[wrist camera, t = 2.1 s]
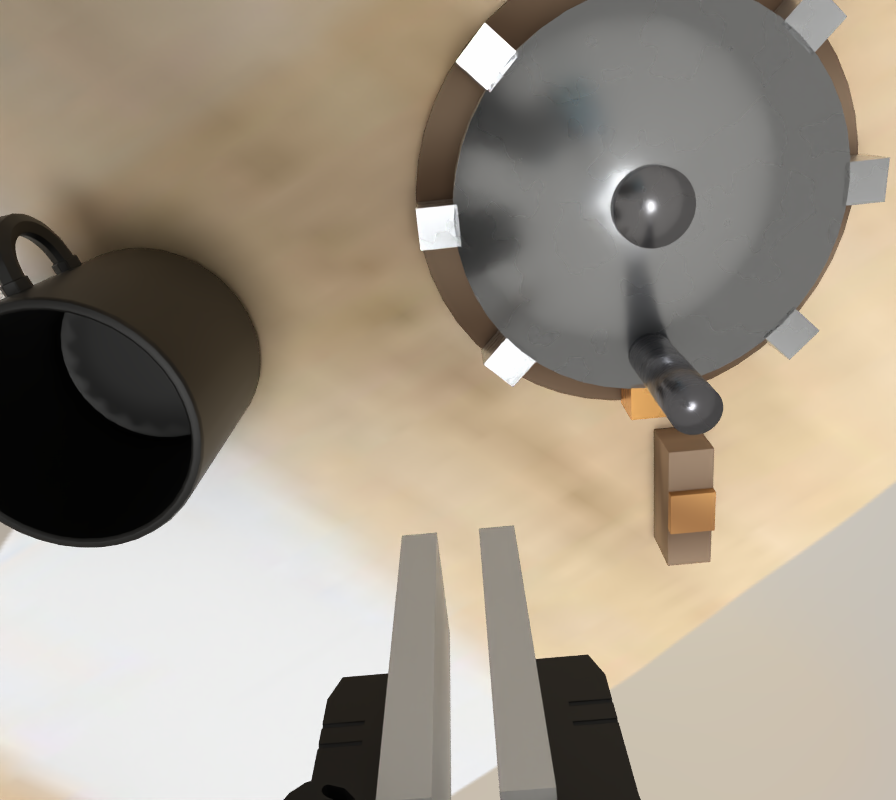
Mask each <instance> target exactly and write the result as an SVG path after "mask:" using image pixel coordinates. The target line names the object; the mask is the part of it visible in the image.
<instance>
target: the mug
mask: <svg viewBox="0 0 896 800" xmlns="http://www.w3.org/2000/svg"><path fill="white" fill-rule="evenodd" d="M18 236H22V237H25V238H27V239H29V240H30V241H32V242H33V243H35V244H36V245H37V246H38V247H39V248H41V249H42V250H43V251H44V253H45V254H46V255H47V256H48V257H49V259H50V260H51V261H52V262H53V264H54V265H53V266H52V268H53V269H54V271H55V273H56V274H57V275H55V276H53V277H51V278H49V279H46V280H44V281H42V282H40V283H37V284H35V285H33V284H32V282H31V281H30V279H29V278H28V276H25V275H24V273H23V271H22V269H21V267H20V265H19V263H18V260H17V256H16V251H15V244H16V240H17V238H18ZM0 285H1V287H0V290H1V291H2V293H3V294H4V296H5V297H6V298H4V299H2V300H0V522H2V523H3V524H5V525H7V526H9V527H11V528H13V529H14V530H16V531H18V532H20V533H23V534H25V535H28V536H31V537H33V538H36V539H39V540H42V541H46V542H50V543H54V544H58V545H64V546H72V547H106V546H112V545H118V544H122V543H126V542H129V541H132V540H136V539H139V538H141V537H143V536H145V535H147V534H149V533H151V532H153V531H155V530H156V529H158V528H159V527H161V526H162V525H164V524H165V523H166V522H168V521H169V520H171V519H172V518H173V517H174V516H175V514H176V513H177V512H178V511H179V510H180V509H181V508H182V507H183V506H184V505H185V503H186V502H187V500H188V499H189V497H190V496H191V494H192V493H193V491H194V490H195V488H196V487H197V485H198V483H199V482H200V480H201V479H202V477H203V476H204V474H205V473H206V471H207V470H208V468H209V466H210V465H211V463H212V462H213V460H214V459H215V457H216V456H217V454H218V452H219V451H220V449H221V448H222V446H223V445H224V443H225V442H226V440H227V438H228V437H229V435H230V434H231V432H232V431H233V429H234V428H235V426H236V425H237V423H238V421H239V420H240V418H241V417H242V415H243V414H244V412H245V411H246V409H247V407H248V406H249V404H250V403H251V400H252V398H253V396H254V393H255V391H256V388H257V384H258V379H259V374H260V353H259V344H258V341H257V337H256V333H255V330H254V328H253V325H252V323H251V321H250V318H249V316H248V314H247V312H246V311H245V309H244V308H243V306H242V304H241V303H240V301H239V300H238V299H237V297H236V296H235V295H234V294H233V293H232V291H231V290H230V289H229V288H228V287H227V286H226V285H225V284H224V283H223V282H222V281H221V280H219V279H218V278H217V277H216V276H215V275H213V274H212V273H211V272H209V271H208V270H206V269H205V268H203V267H202V266H200V265H199V264H197V263H195V262H193V261H190V260H188V259H186V258H184V257H181V256H179V255H176V254H172V253H169V252H166V251H161V250H154V249H144V248H132V249H123V250H117V251H113V252H109V253H106V254H104V255H101V256H98V257H95V258H93V259H91V260H89V261H86V262H84V263H82V264H81V262H80V260H79V259H78V257H77V256H76V255H73V254H72V253H71V252H70V250H69V249H68V248H67V246H66V245H65V244H64V242H63V241H62V240H61V239H60V238H59V237H58V236H57V235H56V234H55V233H54V232H53V231H52V230H51V229H50V228H49V227H47V226H46V225H45V224H44V223H42V222H40V221H39V220H37V219H35V218H33V217H31V216H29V215H25V214H10V215H6V216H2V217H0Z"/></svg>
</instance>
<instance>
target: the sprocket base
mask: <svg viewBox="0 0 896 800" xmlns="http://www.w3.org/2000/svg"><path fill="white" fill-rule="evenodd" d="M585 1H587V0H509V1H507V2H506V3H505V4H504V5H503V6H502V7H501V8H500V9H499V10H498V11H497V12H495V13H494V14H493V15H492V16H491V17H490V18H489V19H488V20H487V21H486V22H485V23H486V24H487V25H488V26H489V27H490V28H491V29H492V30H493V31H494V32H496V33H497V34H498V35H499V36H500V37H501V38H502V39H503V40H504V41H505V42H506V43H508V44H509V45H510V46H511V47H512V48H513V49H514V50H516V49H517V48H519V47H520V46H521V45H522V44H523V43H524V42H525V41H526V40H528V39H529V38H530V37H531V36H532V35H533V34H534V33H535V32H537V31H538V30H539V29H541V28H542V27H543V26H545V25H546V24H548V23H549V22H551V21H552V20H554V19H555V18H557V17H558V16H560V15H561V14H562V13H564V12H565V11H567V10H569V9H571V8H573V7H575V6H577V5H579V4H581V3H583V2H585ZM754 1H756V2H759V3H760V4H762V5H763V6H765V7H766V8H768V9H769V10H771V11H772V12H774V11H775V10H776V9H777V8H778V7H779V6H780V4H781V3H782V2H783V1H784V0H754ZM479 30H480V29H479ZM479 30H478V31H479ZM476 34H477V33H476ZM476 34H475V35H476ZM475 35H474V36H475ZM474 36H473V38H474ZM473 38H472V39H473ZM472 39H471V40H472ZM471 40H470V41H469V42H468V44H469V43H470V42H471ZM468 44H467V45H466V46H465V48H464V49H463V51H464V50H465V49H466V47H467V46H468ZM463 51H462V52H461V54H462V53H463ZM815 53H816V54H817V55H818V57H819V59H820V60H821V62H822V64H823V66H824V67H825V69H826V71H827V72H828V74H829V76H830V78H831V79H832V82H833V84H834V87H835V89H836V92H837V94H838V97H839V99H840V102H841V105H842V109H843V113H844V117H845V121H846V125H847V130H848V139H849V149H850V155H858V139H857V128H856V118H855V111H854V107H853V102H852V98H851V94H850V90H849V85H848V82H847V80H846V77H845V75H844V72H843V70H842V67H841V64H840V62H839V59H838V57H837V55H836V53H835V51H834V50H833V48H832V46H831V44H830V43H829V41H828V39H826V41H825V42H824V43H823V44H822V45H821V46H820V47H819V48H818V49H817V50H816V52H815ZM461 54H460V55H461ZM460 55H459V57H460ZM459 57H458V58H459ZM456 61H457V60H456ZM455 63H456V62H455ZM455 63H454V65H453V66H452V68H451V69H450V71H449V72H448V74H447V77H446V79H445V81H444V83H443V85H442V87H441V89H440V91H439V93H438V95H437V97H436V99H435V101H434V104H433V107H432V110H431V113H430V116H429V119H428V122H427V125H426V128H425V131H424V136H423V141H422V146H421V151H420V156H419V161H418V173H417V186H416V199H417V202H425V201H434V200H443V199H453V186H454V175H455V167H456V162H457V158H458V153H459V149H460V144H461V141H462V138H463V135H464V133H465V130H466V127H467V124H468V121H469V118H470V116H471V114H472V112H473V110H474V108H475V106H476V105H477V103H478V101H479V99H480V97H481V95H482V93H483V92H484V90H483V89H482V88H481V87H480V86H479V85H478V84H477V83H476V82H474V81H473V80H472V79H471V78H470V77H469V76H468V75H467V74H465V73H464V72H463V71H462V70H461V69H460V68H459V67H458V66H456V65H455ZM850 209H851V205H847V206H846V209H845V213H844V216H843V220H842V223H841V227H840V230H839V234H838V237H837V239H836V242H835V244H834V247H833V249H832V251H831V254H830V256H829V258H828V261H827V263H826V264H825V266H824V268H823V270H822V271H821V273H820V275H819V277H818V279H817V280H816V282H815V284H814V285H813V287H812V288H811V289H810V291H809V292H808V294H807V295H806V296H805V298H804V299H803V301H802V302H801V303H800V305H799V306H798V307H797V308H796V310H798V311H799V310H800V309H801V308H802V306H803V305H804V303H805V302H806V301H807V299H808V298H809V296H810V295H811V294H812V292H813V291H814V290H815V288H816V287H817V285H818V284H819V282H820V280H821V278H822V277H823V275H824V273H825V271H826V270H827V268H828V266H829V264H830V263H831V261H832V259H833V256H834V254H835V252H836V249H837V247H838V245H839V242H840V240H841V237H842V235H843V233H844V230H845V226H846V223H847V219H848V216H849V212H850ZM423 251H424V254H425V257H426V260H427V264H428V267H429V270H430V273H431V276H432V278H433V280H434V282H435V284H436V286H437V288H438V291H439V293H440V295H441V297H442V299H443V301H444V302H445V304H446V305H447V307H448V308H449V310H450V312H451V313H452V315H453V316H454V318H455V319H456V321H457V322H458V323H459V325H460V326H461V327H462V328H463V329H464V330H465V332H466V333H467V334H468V335H469V336H470V337H471V339H472V340H473V341H474V342H475V343H476V344H477V345H478V346H479V347H481V348H483V347H484V346H485V345H486V343H487V342H488V341H489V340H490V339H491V338H492V337H493V335H494V334H495V333H496V332H497V331H498V328H497V327H496V326H495V325H494V324H493V322H492V321H491V320H490V319H489V318H488V316H487V314H486V313H485V311H484V310H483V308H482V307H481V305H480V303H479V302H478V300H477V299H476V297H475V295H474V292H473V290H472V288H471V286H470V284H469V282H468V279H467V277H466V275H465V272H464V268H463V265H462V262H461V258H460V255H459V252H458V247H452V248H442V249H433V250H423ZM766 343H767V342H766V341H765V340H764V341H762V342H761V343H760V344H758V345H757V346H755V347H754V348H753V349H751V350H750V351H748V352H747V353H745V354H744V355H743V356H741V357H739V358H737V359H736V360H734V361H732V362H730V363H728V364H726V365H725V366H723V367H721V368H719V369H717V370H714V371H712V372H709V373H707V374H704V375H702V377H703V378H704V379H705V380H706V381H707V380H709V379H712V378H714V377H716V376H717V375H719V374H721V373H723V372H725V371H727V370H728V369H730V368H732V367H734V366H736V365H738V364H739V363H740V362H742V361H743V360H745V359H746V358H748V357H749V356H750V355H752V354H753V353H755V352H756V351H757V350H759V349H760V348H761V347H763V346H764V345H765V344H766ZM522 377H523V378H525V379H527V380H529V381H531V382H533V383H535V384H537V385H540V386H543V387H545V388H548V389H551V390H554V391H557V392H560V393H564V394H569V395H573V396H578V397H583V398H590V399H602V400H621V388H613V387H603V386H598V385H593V384H589V383H584V382H580V381H577V380H574V379H572V378H569V377H566V376H563V375H560V374H558V373H556V372H554V371H552V370H550V369H548V368H546V367H544V366H542V365H540V364H539V363H537V362H535V363H534V364H533V365H532V366H531V368H530V369H529V370H528V371H527V372H526V373H525V374H524V375H523V376H522Z"/></svg>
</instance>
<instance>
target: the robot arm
mask: <svg viewBox="0 0 896 800" xmlns="http://www.w3.org/2000/svg"><path fill="white" fill-rule="evenodd" d="M479 534H480V547H481V560H482V573H483V585H484V598H485V611H486V624H487V636H488V649H489V662H490V675H491V687H492V700H493V713H494V725H495V738H496V751H497V764H498V776H499V789H500V798H501V800H641V799H640V797H639V794H638V791H637V787H636V783H635V780H634V776H633V773H632V769H631V765H630V762H629V758H628V755H627V751H626V747H625V744H624V740H623V737H622V733H621V730H620V726H619V723H618V720H617V715H616V712H615V708H614V704H613V703H612V697H611V694H610V690H609V686H608V683H607V679H606V676H605V674H604V672H603V671H602V670H601V669H600V668H599V667H598V666H597V664H596V663H595V662H594V661H593V660H592V659H591V658H590V656H589V655H578V656H566V657H555V658H543V659H535V653H534V647H533V641H532V634H531V628H530V622H529V616H528V610H527V603H526V597H525V591H524V585H523V579H522V572H521V566H520V560H519V554H518V548H517V541H516V535H515V529H514V526H503V527H492V528H481V529H479ZM284 800H451V730H450V632H449V624H448V616H447V608H446V601H445V593H444V585H443V577H442V570H441V562H440V554H439V546H438V539H437V533H427V534H416V535H405V536H402V542H401V552H400V562H399V572H398V582H397V592H396V602H395V612H394V622H393V632H392V642H391V652H390V662H389V672H388V674H376V675H365V676H353V677H343V678H342V679H341V681H340V682H339V684H338V685H337V686H336V688H335V689H334V691H333V692H332V694H331V695H330V697H329V698H328V699H327V704H326V709H325V714H324V720H323V729H322V730H321V735H320V740H319V749H318V750H317V755H316V760H315V765H314V770H313V775H312V780H311V781H310V782H306V783H304V784H303V785H301V786H300V787H298V788H297V789H295V790H293V791H292V792H290V793H289V794H288V795H287V796H286V798H285V799H284Z"/></svg>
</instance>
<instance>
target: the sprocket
mask: <svg viewBox="0 0 896 800" xmlns="http://www.w3.org/2000/svg"><path fill="white" fill-rule="evenodd" d="M846 17H847V16H846V15H845V14H844V13H843V11H842V10H841V9H840V8H839V7H838V6H837V5H836V4H835V3H834V2H833V1H832V0H784V1H783V2H782V3H781V4H780V6H779V7H778V8H777V9H776V10H775V11H774V12H772V11H771V10H769V9H768V8H766V7H765V6H763V5H762V4H760V3H759V2H756V1H754V0H587V1H585V2H583V3H581V4H579V5H577V6H575V7H573V8H571V9H569V10H567V11H565V12H564V13H562V14H561V15H560V16H558V17H557V18H555V19H554V20H552V21H551V22H549V23H548V24H546V25H545V26H543V27H542V28H541V29H539V30H538V31H537V32H535V33H534V34H533V35H532V36H531V37H530V38H529V39H528V40H526V41H525V42H524V43H523V44H522V45H521V46H520V47H519V48H517V49H516V50H514V49H513V48H512V47H511V46H510V45H509V44H508V43H506V42H505V41H504V40H503V39H502V38H501V37H500V36H499V35H498V34H497V33H496V32H494V31H493V30H492V29H491V28H490V27H489V26H488V25H487V24H486V23H484V24H483V26H482V27H481V28H480V30H479V31H478V32H477V34H476V35H475V36H474V38H473V39H472V40H471V42H470V43H469V44H468V46H467V47H466V49H465V50H464V51H463V53H462V54H461V55H460V57H459V58H458V59H457V61H456V63H455V65H456V66H458V67H459V68H460V69H461V70H462V71H463V72H464V73H465V74H467V75H468V76H469V77H470V78H471V79H472V80H473V81H474V82H476V83H477V84H478V85H479V86H480V87H481V88H482V89H483V90H484V92H483V93H482V95H481V97H480V99H479V101H478V103H477V105H476V106H475V108H474V110H473V112H472V114H471V116H470V118H469V121H468V124H467V127H466V130H465V133H464V135H463V138H462V141H461V144H460V149H459V153H458V158H457V162H456V167H455V175H454V186H453V199H443V200H434V201H425V202H417V206H416V217H417V225H418V234H419V242H420V251H423V250H433V249H442V248H452V247H458V252H459V255H460V258H461V262H462V265H463V268H464V272H465V275H466V277H467V279H468V282H469V284H470V286H471V288H472V290H473V292H474V295H475V297H476V299H477V300H478V302H479V303H480V305H481V307H482V308H483V310H484V311H485V313H486V314H487V316H488V318H489V319H490V320H491V321H492V322H493V324H494V325H495V326H496V327H497V328H498V331H497V332H496V333H495V334H494V335H493V337H492V338H491V339H490V340H489V341H488V342H487V343H486V345H485V346H484V347H483V348H482V349H481V350H482V357H483V364H484V365H485V366H486V367H488V368H489V369H490V370H491V371H493V372H494V373H495V374H497V375H498V376H499V377H501V378H502V379H503V380H504V381H506V382H507V383H508V384H510V385H511V386H512V387H513V386H514V385H515V384H516V383H517V382H518V381H519V380H520V379H521V378H522V376H523V375H524V374H525V373H526V372H527V371H528V370H529V369H530V368H531V366H532V365H533V364H534V363H535V362H537V363H539V364H540V365H542V366H544V367H546V368H548V369H550V370H552V371H554V372H556V373H558V374H560V375H563V376H566V377H569V378H572V379H574V380H577V381H580V382H584V383H589V384H593V385H598V386H603V387H613V388H621V403H622V405H623V406H624V408H625V410H626V411H627V413H628V415H629V417H630V418H631V420H637V419H648V418H658V417H667V418H668V419H669V421H670V422H671V423H672V425H673V426H674V427H675V428H676V429H677V430H678V431H679V432H681V433H684V434H687V435H698V434H702V433H705V432H707V431H709V430H710V429H712V428H713V427H714V426H715V425H716V424H717V423H718V421H719V420H720V418H721V416H722V412H723V402H722V399H721V397H720V396H719V394H718V393H717V392H716V391H715V390H714V389H713V388H712V387H711V385H710V384H709V383H708V382H707V381H706V380H705V379H704V378H703V377H702V375H704V374H707V373H709V372H712V371H714V370H717V369H719V368H721V367H723V366H725V365H726V364H728V363H730V362H732V361H734V360H736V359H737V358H739V357H741V356H743V355H744V354H745V353H747V352H748V351H750V350H751V349H753V348H754V347H755V346H757V345H758V344H760V343H761V342H762V341H764V340H765V341H766V342H767V343H768V344H769V345H771V346H772V347H773V348H775V349H776V350H777V351H779V352H780V353H781V354H783V355H784V356H785V357H787V358H788V359H789V360H790V359H791V358H792V357H793V356H794V355H795V354H796V353H797V352H798V351H799V350H800V349H801V348H802V347H803V346H804V345H805V344H806V343H807V342H808V341H809V340H810V339H812V338H813V337H814V336H815V335H816V334H817V333H818V332H819V330H818V329H817V328H816V327H815V326H814V325H813V324H812V323H811V322H809V321H808V320H807V319H806V318H805V317H804V316H803V315H802V314H801V313H800V312H799V311H798V310H796V308H797V307H798V306H799V305H800V303H801V302H802V301H803V299H804V298H805V296H806V295H807V294H808V292H809V291H810V289H811V288H812V287H813V285H814V284H815V282H816V280H817V279H818V277H819V275H820V273H821V271H822V270H823V268H824V266H825V264H826V263H827V261H828V258H829V256H830V254H831V251H832V249H833V247H834V244H835V242H836V239H837V237H838V234H839V230H840V227H841V223H842V220H843V216H844V213H845V209H846V206H847V205H857V204H866V203H876V202H885V194H886V186H887V177H888V168H889V159H890V158H888V157H880V156H873V155H865V154H858V155H850V149H849V139H848V130H847V125H846V121H845V117H844V113H843V109H842V105H841V102H840V99H839V97H838V94H837V92H836V89H835V87H834V84H833V82H832V79H831V78H830V76H829V74H828V72H827V71H826V69H825V67H824V66H823V64H822V62H821V60H820V59H819V57H818V55H817V54H816V53H815V52H816V50H817V49H818V48H819V47H820V46H821V45H822V44H823V43H824V42H825V41H826V39H827V38H828V37H829V36H830V35H831V34H832V33H833V32H834V31H835V29H836V28H837V27H838V26H839V25H840V24H841V23H842V22H843V21H844V19H845V18H846Z"/></svg>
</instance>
